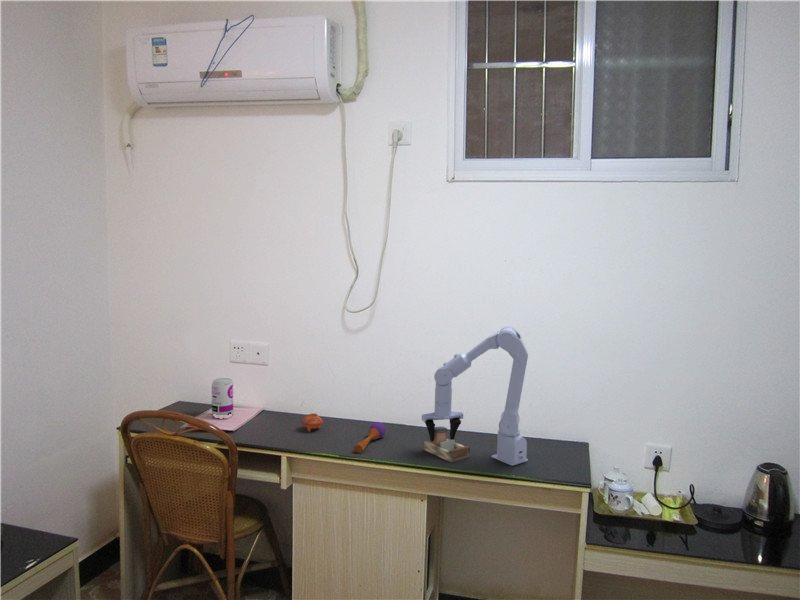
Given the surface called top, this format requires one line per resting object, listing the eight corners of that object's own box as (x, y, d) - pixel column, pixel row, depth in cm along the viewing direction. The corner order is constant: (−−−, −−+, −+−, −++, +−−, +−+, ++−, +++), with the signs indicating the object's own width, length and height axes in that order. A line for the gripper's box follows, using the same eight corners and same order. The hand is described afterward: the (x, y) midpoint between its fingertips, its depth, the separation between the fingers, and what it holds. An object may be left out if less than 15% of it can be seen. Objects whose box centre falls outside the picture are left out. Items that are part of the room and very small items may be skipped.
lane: (469, 457, 196) (469, 446, 196) (451, 462, 191) (451, 451, 191) (442, 445, 207) (442, 435, 207) (424, 449, 202) (424, 439, 202)
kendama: (348, 441, 198) (371, 420, 217) (352, 457, 199) (374, 435, 217) (364, 440, 196) (386, 419, 215) (367, 457, 197) (389, 434, 215)
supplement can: (236, 414, 238) (236, 378, 236) (228, 420, 230) (228, 383, 228) (217, 413, 239) (216, 377, 237) (208, 419, 230) (208, 382, 229)
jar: (443, 445, 204) (444, 426, 204) (448, 450, 200) (449, 430, 199) (431, 446, 203) (431, 427, 202) (435, 451, 199) (436, 431, 198)
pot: (296, 429, 220) (299, 411, 220) (311, 429, 225) (314, 412, 226) (309, 433, 214) (312, 415, 215) (325, 434, 220) (328, 416, 221)
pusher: (454, 449, 200) (454, 440, 200) (441, 452, 197) (442, 443, 196) (452, 448, 201) (452, 439, 201) (439, 451, 197) (440, 442, 197)
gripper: (426, 405, 193) (425, 445, 195) (467, 403, 197) (465, 442, 199) (420, 400, 200) (419, 438, 202) (459, 397, 204) (458, 435, 206)
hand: (441, 439), depth 201 cm, fingers open, 7 cm apart
